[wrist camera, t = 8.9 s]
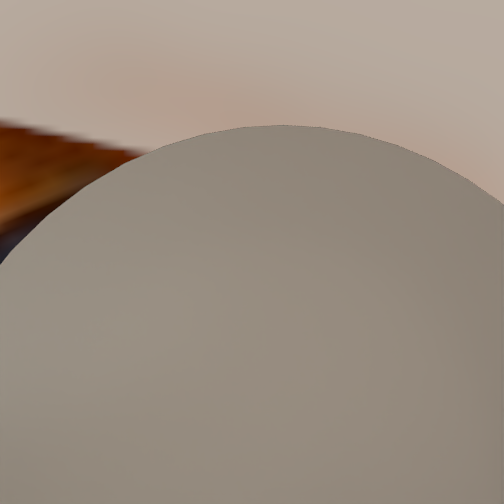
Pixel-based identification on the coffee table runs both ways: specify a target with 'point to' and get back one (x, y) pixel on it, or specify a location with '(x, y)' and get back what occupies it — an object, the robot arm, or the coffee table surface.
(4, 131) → the coffee table surface
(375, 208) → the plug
